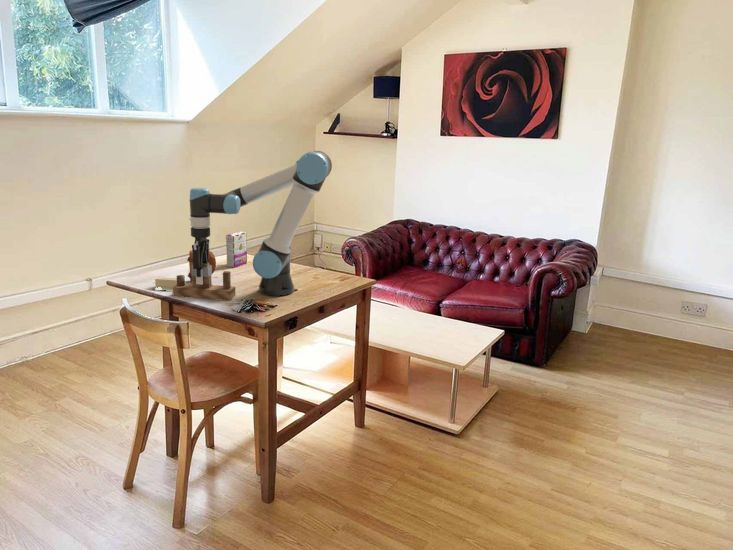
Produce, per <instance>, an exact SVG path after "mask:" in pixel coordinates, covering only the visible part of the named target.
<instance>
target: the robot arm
mask: <svg viewBox="0 0 733 550" xmlns="http://www.w3.org/2000/svg"><path fill="white" fill-rule="evenodd" d="M332 167H333V164H332V160H331V158H330V157H329V155H328V154H327V153H326V152H324V151H321V150H313V151H309V152H306V153H304V154H303V155H301V157H300V158H299V159H298V160H297V161H295V163H294V164H293V165H291V166H288V167H286V168H284V169H281V170H279V171H276V172H274V173H272V174H268V175H265V176H264V177H262V178H260V179H257V180H255V181H251V182H250V183H248V184H247V183H246V184H245V185H242V186H240V187H238V188H235V189H233V190H230V191H228V192H227V193H221V194H220V193H219V194H217V193H215V194H214V193H210V189H209V188H207V187H206V188H205V187H193V188H190V191H189V210H190V211H189V212H190V215H189V216H190V217H189V221H190V226H191V227H190V236H191V237H192V238H194V243H193V244H192V245H191V251H192V250H193V269H196V284H201V285H203V269H202V264H209V265H210V263H209V251H210V239H207V238H209V237H210V236H211V216H210V215H211V214H225V215H226V214H227V215H237V214H238V213H240V210H241V208H242V207H244V206H247V205H248V204H252V203H254V202H257V201H259V200H261V199H263V198H267V197H268V196H272V195H273V194H276V193H278V192H281V191H283V190H286V189H288V188H291V189H290V191H289V194H288V196H287V198H286V200H285V203H284V205H283V207H282V209H281V212H280V213H279V216H278V217H277V220H276V221H275V224H274V227H273V228H272V231H271V233H270V235H269V237H266V238H264V239H263V241H262V243H261V244H260V247H259V250H258V251H257V252H256V253H255V255H254V256H253V259H252V268H253V270H254V272H255V273H256V274H257V275H258V276H259V277H261V279H260V282H259V285H258V292H259V293H260V294H261V295H265V296H271V297H280V295H283V296H288V295H287V294H289V295H292V294H293V293H294V292H295V285H294V282H293V279H292V278H293V277H291V248H292V246H291V242H292V240H293V238H294V236H295V235H296V232H297V230H298V228H299V226H300V223H301V222H302V220H303V217H304V216H305V213H306V211H307V209H308V207H309V204H311V203H310V202H311V200H312V199H313V196H314V195H315V194H317V193H319V192H320V190H321V189H322V186H323V185H324V183H325V180H326V179H327V177H328V176H329V175H330V174H331V171H332Z"/></svg>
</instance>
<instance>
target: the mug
mask: <svg viewBox="0 0 733 550" xmlns="http://www.w3.org/2000/svg"><path fill="white" fill-rule="evenodd" d="M188 255H189V256H188V258H187V262H189V263H188V265H189V272H188V274H187V277H188V278H189V281H190V282H191V283H192V276H191V266H193V250H192V249H191V250H189V253H188ZM209 263H210V265H212V275H213V274H214V273H215V270H216V267H217V261H216V257H215V255H214V253H213V251H210V250H209Z"/></svg>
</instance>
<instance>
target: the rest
mask: <svg viewBox="0 0 733 550" xmlns="http://www.w3.org/2000/svg"><path fill="white" fill-rule="evenodd" d="M154 281H155V285H154V286H155V287H157V288H158V287H161V288H162V290H166V291H165V292H171V291H173V287H174V286H175V285H177V277H175V278H173V277H160V276H158V277H156V278H155V279H154Z"/></svg>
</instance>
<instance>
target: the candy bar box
mask: <svg viewBox="0 0 733 550" xmlns="http://www.w3.org/2000/svg"><path fill="white" fill-rule="evenodd" d="M225 242H226V243H225V244H226V245H225V247H226V249H225V250H226V267H227V268H234V269H235V268H238V267H241V266H244V265H246V264H248V256H247V255H248V251H247V247H248V245H247V242H248V241H247V231H246V232H245V231H236V232H232V233H229V234H226V235H225ZM243 264H244V265H243ZM240 265H241V266H240Z"/></svg>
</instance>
